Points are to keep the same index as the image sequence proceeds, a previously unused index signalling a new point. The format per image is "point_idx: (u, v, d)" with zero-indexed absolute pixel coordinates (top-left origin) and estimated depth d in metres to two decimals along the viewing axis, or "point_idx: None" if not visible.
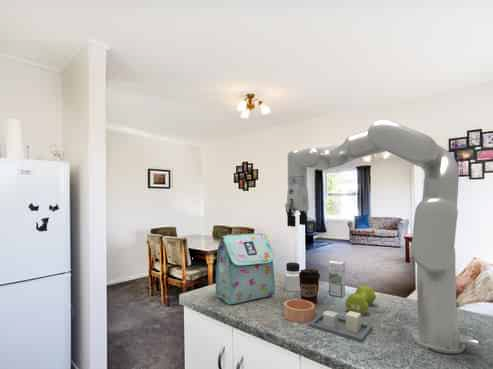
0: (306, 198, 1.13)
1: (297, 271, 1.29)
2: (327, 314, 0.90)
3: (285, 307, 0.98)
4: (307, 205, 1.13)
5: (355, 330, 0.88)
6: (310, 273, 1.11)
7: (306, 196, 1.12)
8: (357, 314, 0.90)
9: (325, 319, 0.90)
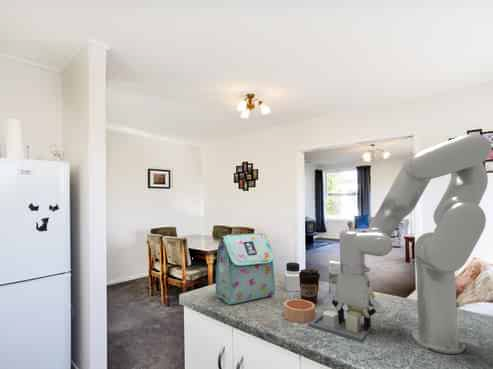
0: None
1: (297, 271, 1.29)
2: (327, 314, 0.90)
3: (285, 307, 0.98)
4: None
5: (355, 330, 0.88)
6: (310, 273, 1.11)
7: None
8: (357, 314, 0.90)
9: (325, 319, 0.90)
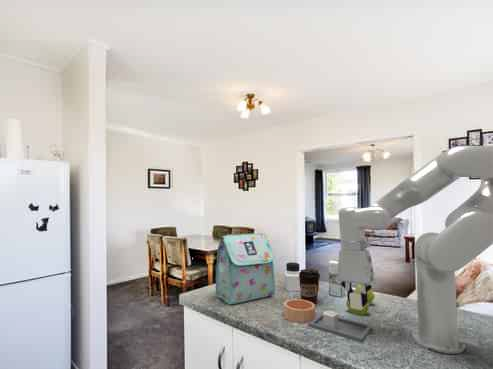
0: None
1: (297, 271, 1.29)
2: (327, 314, 0.90)
3: (285, 307, 0.98)
4: None
5: (360, 308, 0.88)
6: (310, 273, 1.11)
7: None
8: (361, 292, 0.90)
9: (325, 319, 0.90)
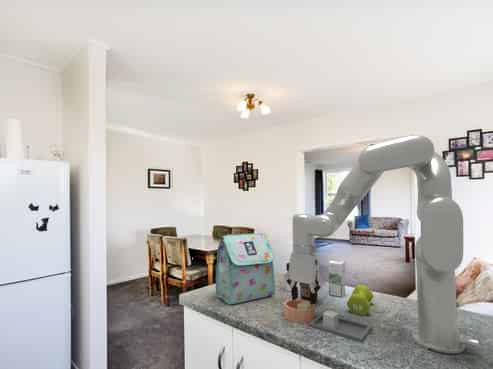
0: None
1: None
2: (327, 314, 0.90)
3: (285, 307, 0.98)
4: None
5: None
6: None
7: None
8: (308, 304, 0.99)
9: (325, 319, 0.90)
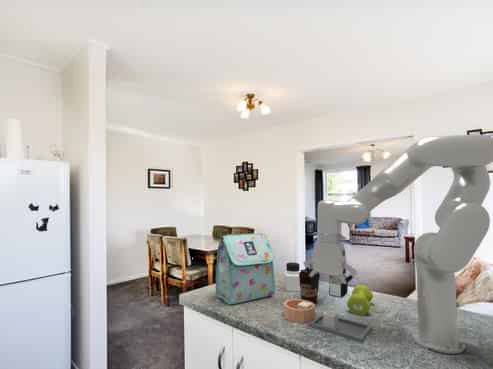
0: None
1: (297, 271, 1.29)
2: (327, 314, 0.90)
3: (285, 307, 0.98)
4: None
5: None
6: None
7: None
8: (308, 304, 0.99)
9: (325, 319, 0.90)
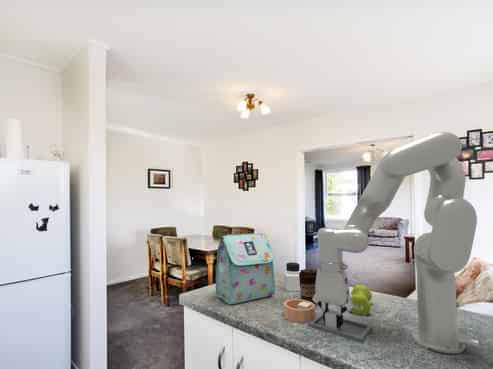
0: None
1: (297, 271, 1.29)
2: (329, 314, 0.89)
3: (285, 307, 0.98)
4: None
5: None
6: (310, 273, 1.11)
7: None
8: (308, 304, 0.99)
9: (327, 318, 0.89)
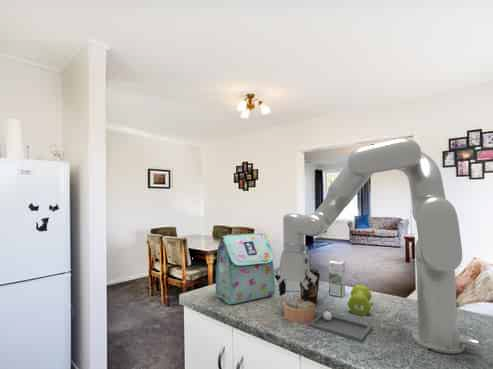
0: None
1: None
2: (291, 303, 1.00)
3: (285, 307, 0.98)
4: None
5: None
6: None
7: None
8: (308, 304, 0.99)
9: None
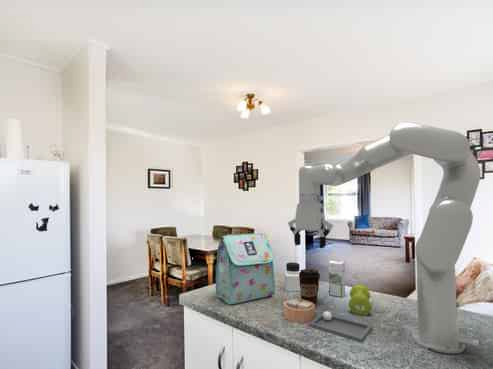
0: None
1: (297, 271, 1.29)
2: (291, 303, 1.00)
3: (285, 307, 0.98)
4: None
5: None
6: (310, 273, 1.11)
7: None
8: (308, 304, 0.99)
9: None
